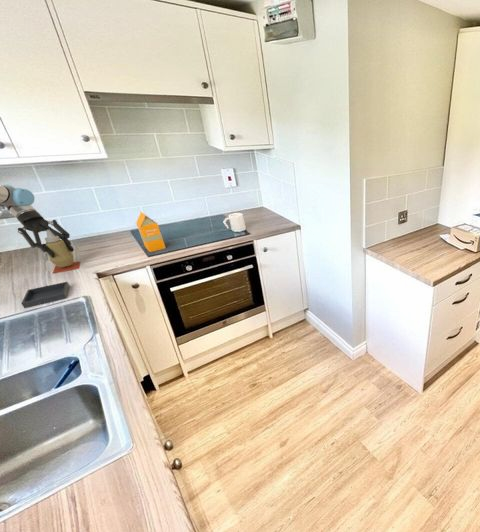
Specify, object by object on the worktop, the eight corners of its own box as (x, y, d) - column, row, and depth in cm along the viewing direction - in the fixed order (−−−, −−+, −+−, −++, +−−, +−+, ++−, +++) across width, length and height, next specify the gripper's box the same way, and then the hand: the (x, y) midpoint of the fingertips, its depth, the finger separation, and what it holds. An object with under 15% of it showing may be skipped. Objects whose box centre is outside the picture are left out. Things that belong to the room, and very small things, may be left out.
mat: (52, 273, 151) (52, 273, 151) (55, 266, 157) (55, 265, 157) (78, 268, 156) (78, 268, 156) (80, 261, 162) (79, 261, 162)
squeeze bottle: (60, 269, 151) (41, 234, 143) (50, 266, 154) (31, 231, 146) (80, 262, 158) (64, 228, 150) (70, 259, 161) (53, 226, 152)
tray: (24, 308, 126) (21, 303, 125) (30, 294, 135) (27, 289, 134) (66, 298, 133) (63, 293, 132) (69, 286, 142) (67, 281, 141)
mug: (244, 226, 212) (241, 212, 208) (246, 230, 206) (243, 215, 201) (224, 229, 207) (221, 214, 202) (226, 233, 200) (222, 218, 196)
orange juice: (161, 243, 184) (149, 210, 175) (166, 248, 179) (154, 213, 170) (144, 247, 179) (132, 213, 170) (149, 252, 174) (136, 217, 165)
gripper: (53, 213, 160) (86, 249, 162) (-3, 226, 144) (35, 265, 146) (54, 205, 155) (88, 241, 158) (-3, 216, 139) (36, 257, 142)
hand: (63, 253), depth 152 cm, fingers closed on squeeze bottle, 6 cm apart
